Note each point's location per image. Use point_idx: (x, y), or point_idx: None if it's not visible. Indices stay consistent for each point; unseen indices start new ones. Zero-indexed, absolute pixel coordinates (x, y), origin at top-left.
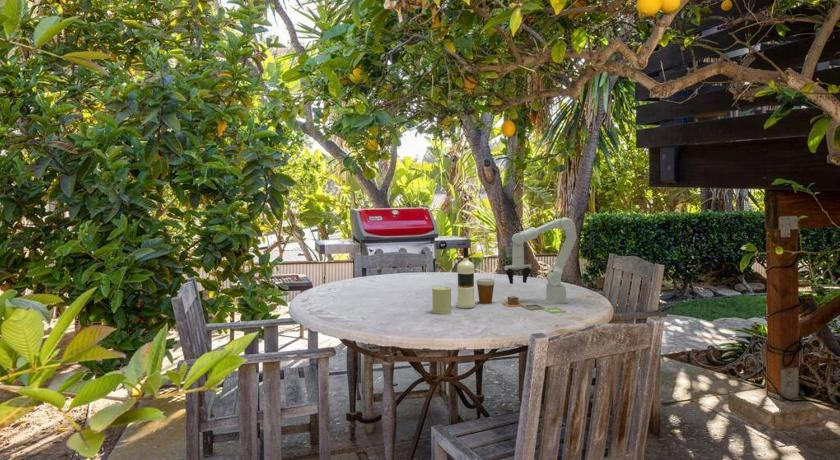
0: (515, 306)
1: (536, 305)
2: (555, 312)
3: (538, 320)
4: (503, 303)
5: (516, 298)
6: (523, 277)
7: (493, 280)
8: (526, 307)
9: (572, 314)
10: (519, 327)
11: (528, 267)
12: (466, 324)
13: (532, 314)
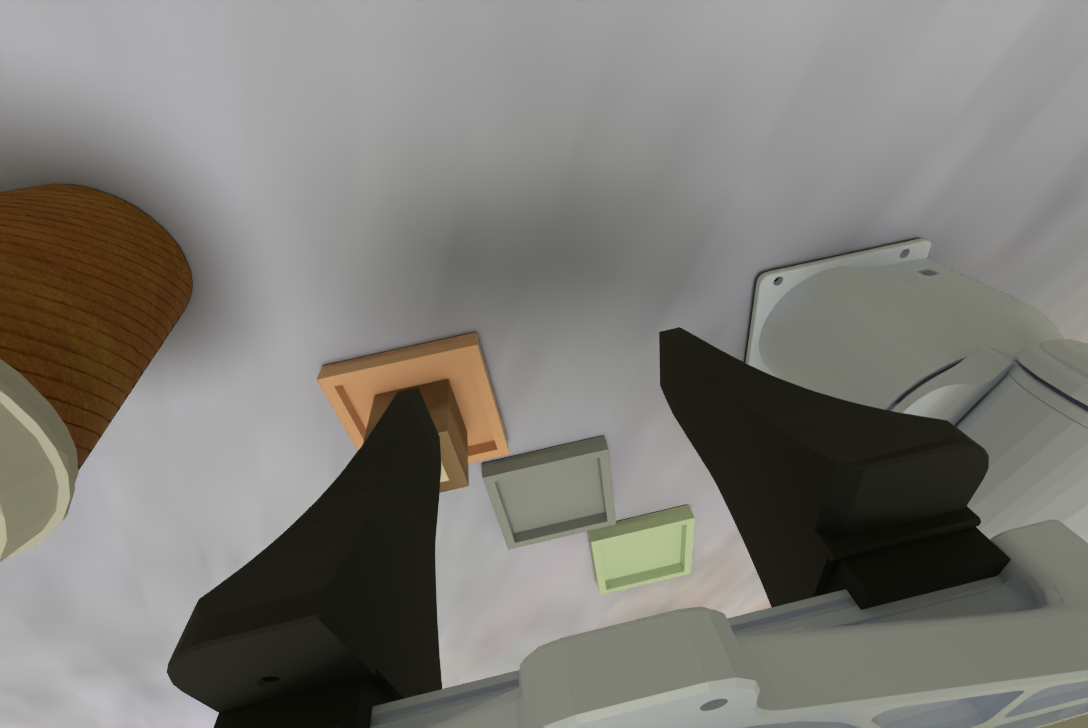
0: None
1: (598, 459)
2: (622, 583)
3: (486, 654)
4: (329, 397)
5: (445, 485)
6: (704, 391)
7: (2, 540)
8: (498, 519)
9: (693, 577)
10: None
11: (977, 609)
12: (112, 722)
13: (495, 586)
